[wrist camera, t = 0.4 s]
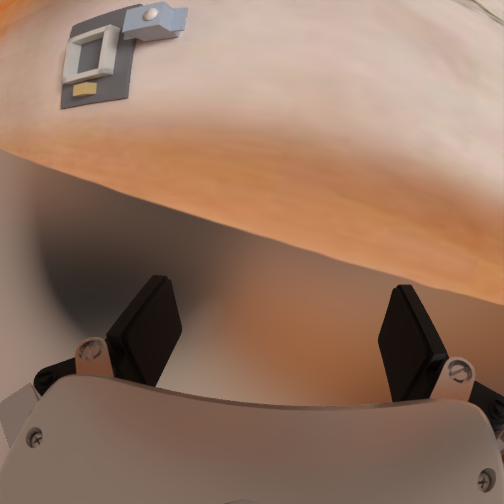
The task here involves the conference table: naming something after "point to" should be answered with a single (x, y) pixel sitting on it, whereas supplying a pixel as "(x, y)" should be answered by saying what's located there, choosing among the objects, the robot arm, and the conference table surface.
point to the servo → (154, 22)
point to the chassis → (97, 61)
